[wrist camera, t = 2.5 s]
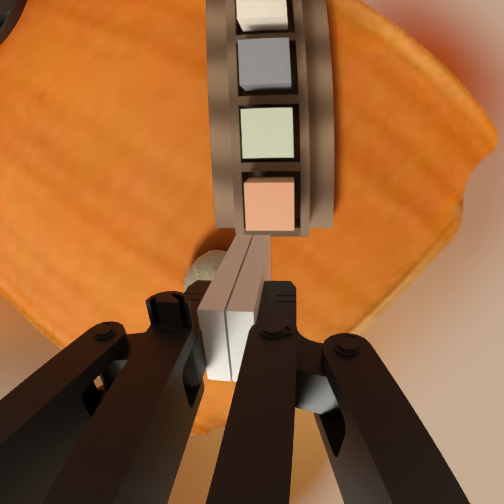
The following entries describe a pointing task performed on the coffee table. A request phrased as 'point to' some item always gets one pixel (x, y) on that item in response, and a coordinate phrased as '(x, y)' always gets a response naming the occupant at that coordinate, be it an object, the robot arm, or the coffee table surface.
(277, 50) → the slate key
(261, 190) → the terracotta key
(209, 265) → the sea urchin shell
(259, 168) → the brown stepped piece
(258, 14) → the ivory key
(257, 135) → the sage key
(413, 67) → the coffee table surface
